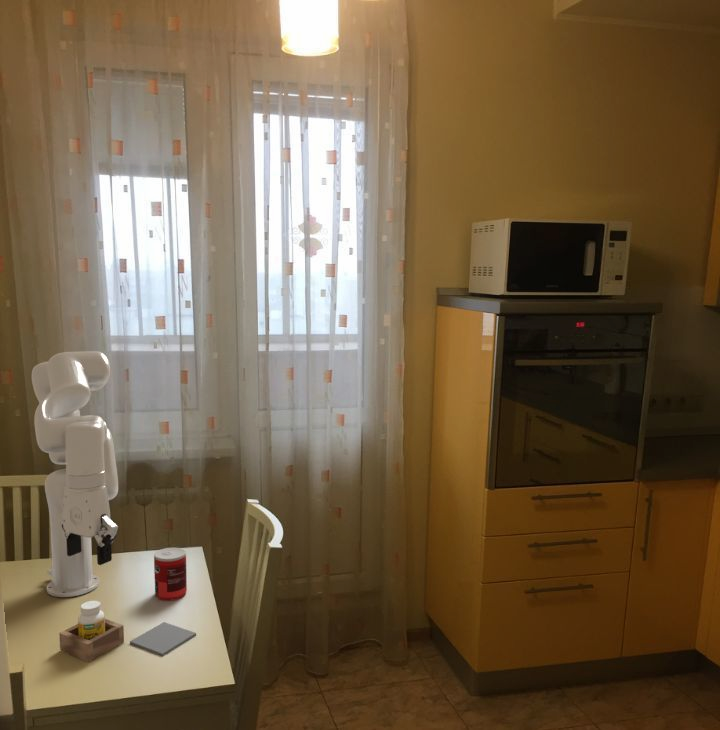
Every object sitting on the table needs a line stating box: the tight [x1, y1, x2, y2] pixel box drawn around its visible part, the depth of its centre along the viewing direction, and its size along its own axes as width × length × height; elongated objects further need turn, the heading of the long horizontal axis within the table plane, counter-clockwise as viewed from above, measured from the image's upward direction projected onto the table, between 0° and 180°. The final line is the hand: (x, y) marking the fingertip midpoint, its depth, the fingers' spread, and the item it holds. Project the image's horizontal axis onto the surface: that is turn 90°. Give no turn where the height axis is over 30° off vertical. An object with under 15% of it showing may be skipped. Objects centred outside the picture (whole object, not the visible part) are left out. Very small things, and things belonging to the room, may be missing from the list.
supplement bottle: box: [77, 600, 106, 640], centre depth 143 cm, size 5×5×10 cm
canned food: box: [153, 547, 188, 602], centre depth 168 cm, size 8×8×11 cm
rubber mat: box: [129, 621, 197, 657], centre depth 147 cm, size 10×10×1 cm
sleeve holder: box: [58, 618, 125, 663], centre depth 143 cm, size 9×9×4 cm
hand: (89, 558), depth 141 cm, fingers open, 9 cm apart
